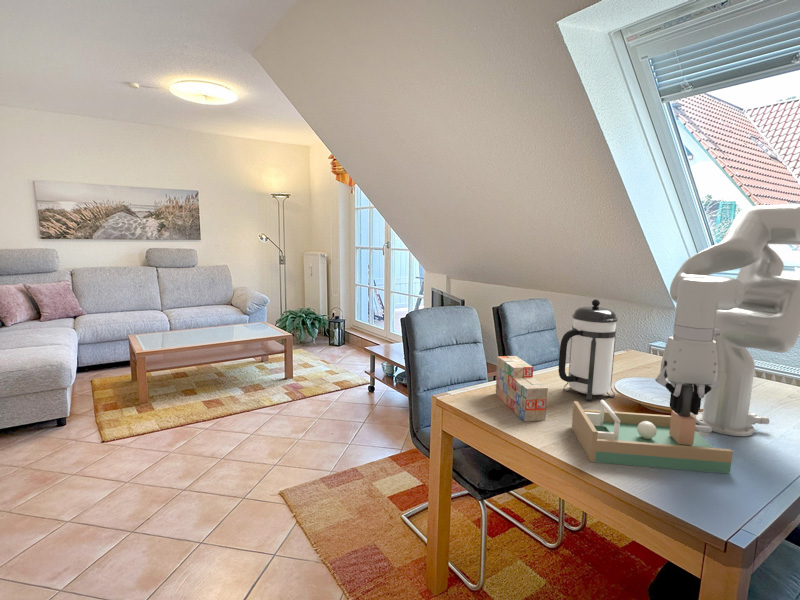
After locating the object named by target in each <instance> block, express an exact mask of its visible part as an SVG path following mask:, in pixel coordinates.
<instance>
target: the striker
mask: <svg viewBox="0 0 800 600" xmlns="http://www.w3.org/2000/svg"><path fill="white" fill-rule="evenodd" d="M692 394H693V386H692V385H689V384H682V387H681V391H680V397H682V402H681V411H680V413H679V414H677V413H675V412H674V411H673V410H672V409H671V414H670V416H671V421H670V430H669V435H670V436H671V437H672V438H673V439H674V440H675V441H676V442H677V443H678V444H684V445H693V442H694V434H695V431H696V432H697V433H698V432H699V433H711V432H713V431H712V428H711V427H709V426H700V425H699V424H697V422H696V419H695V417H694V416H692V415H691V412H690V411H691V403H692Z"/></svg>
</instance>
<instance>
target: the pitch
mask: <svg viewBox="0 0 800 600" xmlns="http://www.w3.org/2000/svg"><path fill="white" fill-rule="evenodd" d="M599 403H600V407H599V410H597V409H584V408H583V407H582V406H581V404H580V402H579V401H577V400H574V401H573V403H572V404H573V405H572V407H573V409H572V418H571V428H572V430H573V432H574V434H575V436H576V437H577V440H578V441H579V444H580V446H581V447H582V449H583V451H584V452H585V454H586V456H587V458H588V460H589V462H591V463H602V464H603V463H604V464H613V465H614V464H615V465H627V466H636V467H649V468H659V469H660V468H662V469H670V470H682V471H683V470H684V471H691V472H693V471H694V472H704V473H705V472H706V473H717V474H727V475H730V474H731V469H732V464H733V463H732V462H733V455H734V454H733V453H734V451H733V450H732V449H731V448H719V447H714V446H713V445H712V444H711V443H710V442H708V440H706V439H705V438H703V436H701V435H700V434H699V433H698V432H696V431H695V434H694V442H693V445H684V444H678V443H677V442H676V441H675V440H674V439H673V438H672V437H671V436H670V435H669V430H670V421H671V414H670V415H667V414H666V415H665V414H655V413H654V414H653V413H641V412H638V413H637V412H629V411H628V412H625V411H613V410H612V409H611V407H610V406H609V404H608V403H607V401H605V400H604V399H601V400H600V401H599ZM643 421H648V422H651V423H652V424H654V425H655V427H656V429H657V433H656V435H655V437H653V438H651V439H645V438H643V437H641V436H640V435H639V434H638V431H637V427H638V425H639V423H641V422H643Z"/></svg>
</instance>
